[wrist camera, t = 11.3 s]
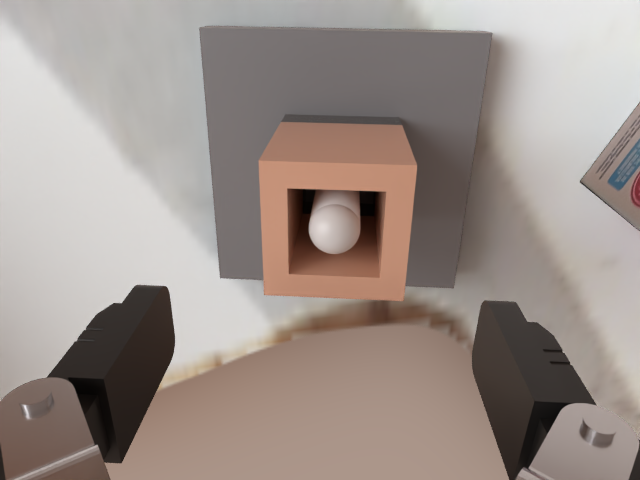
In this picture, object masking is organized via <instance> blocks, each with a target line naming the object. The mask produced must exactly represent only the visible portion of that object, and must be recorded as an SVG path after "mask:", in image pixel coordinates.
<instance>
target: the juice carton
mask: <svg viewBox="0 0 640 480" xmlns="http://www.w3.org/2000/svg"><path fill="white" fill-rule="evenodd" d="M580 183H582V184H583V185H584V186H585V187H586V188H588V189H589V190H590V191H591V192H593V193H594V194H595V195H596V196H597V197H599V198H600V199H601V200H602V201H603V202H605V203H606V204H607V205H608V206H610V207H611V208H612V209H613V210H614V211H616V212H617V213H618V214H619V215H621V216H622V217H623V218H624V219H625V220H627V221H628V222H629V223H630V224H631V225H633V226H634V227H635V228H636V229H638V230H639V231H640V103H639V104H638V105H637V107H636V108H635V109H634V111H633V112H632V113H631V115H630V116H629V117H628V119H627V120H626V121H625V123H624V124H623V125H622V127H621V128H620V129H619V130H618V132H617V133H616V134H615V136H614V137H613V138H612V140H611V141H610V142H609V144H608V145H607V146H606V148H605V149H604V150H603V152H602V153H601V154H600V156H599V157H598V158H597V160H596V161H595V162H594V164H593V165H592V166H591V168H590V169H589V170H588V172H587V173H586V174H585V175H584V177H583V178H582V179H581V181H580Z"/></svg>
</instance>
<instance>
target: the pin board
mask: <svg viewBox="0 0 640 480" xmlns="http://www.w3.org/2000/svg"><path fill="white" fill-rule="evenodd" d="M199 30H200V42H201V54H202V66H203V78H204V90H205V102H206V114H207V126H208V138H209V150H210V162H211V174H212V186H213V198H214V210H215V222H216V234H217V246H218V258H219V270H220V278H230V279H253V280H264V279H263V255H262V231H261V207H260V183H259V159H260V157H261V156H262V154H263V152H264V150H265V149H266V147H267V145H268V143H269V142H270V140H271V138H272V137H273V135H274V133H275V131H276V130H277V128H278V126H279V124H280V123H281V121H282V119H283V118H284V116H285V114H293V115H332V116H371V117H399V118H400V121H401V124H402V126H403V129H404V131H405V134H406V137H407V139H408V142H409V145H410V147H411V150H412V153H413V155H414V158H415V161H416V163H417V174H416V184H415V193H414V203H413V213H412V223H411V233H410V243H409V253H408V263H407V273H406V283H405V286H416V287H439V288H454V283H455V276H456V270H457V263H458V256H459V250H460V243H461V236H462V230H463V223H464V217H465V210H466V203H467V197H468V190H469V184H470V177H471V170H472V164H473V157H474V151H475V144H476V137H477V131H478V124H479V118H480V111H481V104H482V98H483V91H484V85H485V78H486V71H487V65H488V58H489V51H490V45H491V38H492V33H489V32H485V31H456V30H402V29H349V28H296V27H243V26H205V27H200V28H199ZM373 196H374V191H353V190H322V189H306V202H313V206H312V211H311V216H310V221H309V235H310V238H311V240H312V242H313V243H314V245H315V246H316V247H317V248H318V249H320V250H321V251H323V252H326V253H329V254H340V253H344V252H346V251H348V250H349V249H351V248H352V247H353V246H354V245H355V243H356V242H357V240H358V238H359V235H360V203H364V204H373Z"/></svg>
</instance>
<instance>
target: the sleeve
mask: <svg viewBox="0 0 640 480" xmlns="http://www.w3.org/2000/svg"><path fill="white" fill-rule="evenodd" d="M416 174H417V163H416V161H415V158H414V155H413V153H412V150H411V147H410V145H409V142H408V139H407V137H406V134H405V131H404V129H403V126H402V124H401V121H400V118H399V117H371V116H332V115H293V114H285V116H284V118H283V119H282V121H281V123H280V124H279V126H278V128H277V130H276V131H275V133H274V135H273V137H272V138H271V140H270V142H269V143H268V145H267V147H266V149H265V150H264V152H263V154H262V156H261V157H260V159H259V183H260V207H261V231H262V255H263V279H264V295H277V296H300V297H323V298H346V299H369V300H393V301H404V293H405V283H406V273H407V263H408V253H409V243H410V233H411V223H412V213H413V203H414V193H415V184H416ZM306 189H322V190H353V191H374V196H373V204H364V203H360V235H359V238H358V240H357V242H356V243H355V245H354V246H353V247H352V248H351V249H349V250H348V251H346V252H344V253H340V254H329V253H326V252H323V251H321V250H320V249H318V248H317V247H316V246H315V245H314V243H313V242H312V240H311V238H310V235H309V221H310V216H311V211H312V206H313V202H306Z"/></svg>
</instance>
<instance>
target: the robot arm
mask: <svg viewBox="0 0 640 480" xmlns="http://www.w3.org/2000/svg"><path fill="white" fill-rule="evenodd" d="M174 347H175V333H174V326H173V318H172V310H171V302H170V294H169V290H168V288H167V287H166V286H150V285H136V286H134V288H133V289H132V290H131V292H130V293H129V294H128V296H127V297H126V298H125V300H124V301H123V303H122V304H121V303H113V304H112V305H110V306H109V307H107V308H106V309H104V310H103V311H101V312H100V313H98V314H97V315H96V316H95V317H94V318H93V320H92V321H91V322H90V323H89V325H88V326H87V327H86V330H84V331H83V332H82V334H81V335H80V336H79V337H78V340H77V341H75V342H74V344H73V345H72V346H71V347H70V349H69V350H68V351H67V353H66V354H65V355H64V356H63V358H62V359H61V360H60V361H59V363H58V364H57V365H56V366H55V368H54V369H53V370H52V372H51V373H50V374H49V375H48V377H47V378H42V379H37V380H34V381H30V382H28V383H25V384H23V385H21V386H19V387H17V388H16V389H14V390H13V391H11V392H10V393H9V394H7V395H6V396H5V397H4V398H3V399H2V401H1V402H0V480H110V477H109V474H108V472H107V469H106V466H105V464H104V462H106V463H107V462H108V463H122V461H123V459H124V457H125V455H126V453H127V451H128V449H129V447H130V445H131V443H132V441H133V439H134V436H135V434H136V432H137V430H138V428H139V426H140V424H141V422H142V420H143V418H144V415H145V414H146V411H147V410H148V407H149V405H150V403H151V401H152V399H153V397H154V395H155V393H156V391H157V389H158V387H159V385H160V383H161V381H162V378H163V376H164V374H165V372H166V370H167V368H168V366H169V364H170V362H171V360H172V357H173V353H174ZM562 351H563V350H562V348H561V347H560V345H559V344H558V342H557V340H556V339H555V337H554V336H553V335H552V334H551V333H550V332H548V331H547V330H546V329H545V328H543V327H542V326H541V325H540V324H538V323H537V322H527V321H526V319H525V317H524V315H523V313H522V312H521V310H520V308H519V306H518V305H517V303H516V302H509V301H483V303H482V305H481V309H480V314H479V319H478V324H477V329H476V335H475V340H474V345H473V351H472V368H473V374H474V377H475V380H476V383H477V386H478V389H479V392H480V395H481V398H482V401H483V404H484V407H485V409H486V412H487V415H488V418H489V421H490V424H491V427H492V430H493V433H494V436H495V439H496V442H497V445H498V448H499V450H500V453H501V456H502V459H503V462H504V465H505V468H506V471H507V474H508V477H509V480H640V440H639V439H638V436H637V434H636V433H635V431H634V430H633V428H632V427H631V426H630V425H629V424H628V423H627V422H626V421H625V420H624V419H622V418H621V417H620V416H618V415H616V414H615V413H613V412H611V411H609V410H607V409H605V408H602V407H599V406H597V405H596V403H595V402H594V400H593V399H592V397H591V395H590V394H589V392H588V391H587V389H586V387H585V386H584V384H583V382H582V381H581V379H580V378H579V376H578V374H577V373H576V371H575V370H574V368H573V366H572V365H570V361H569V360H568V358H567V357H566V355H565V353H563V352H562Z"/></svg>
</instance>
